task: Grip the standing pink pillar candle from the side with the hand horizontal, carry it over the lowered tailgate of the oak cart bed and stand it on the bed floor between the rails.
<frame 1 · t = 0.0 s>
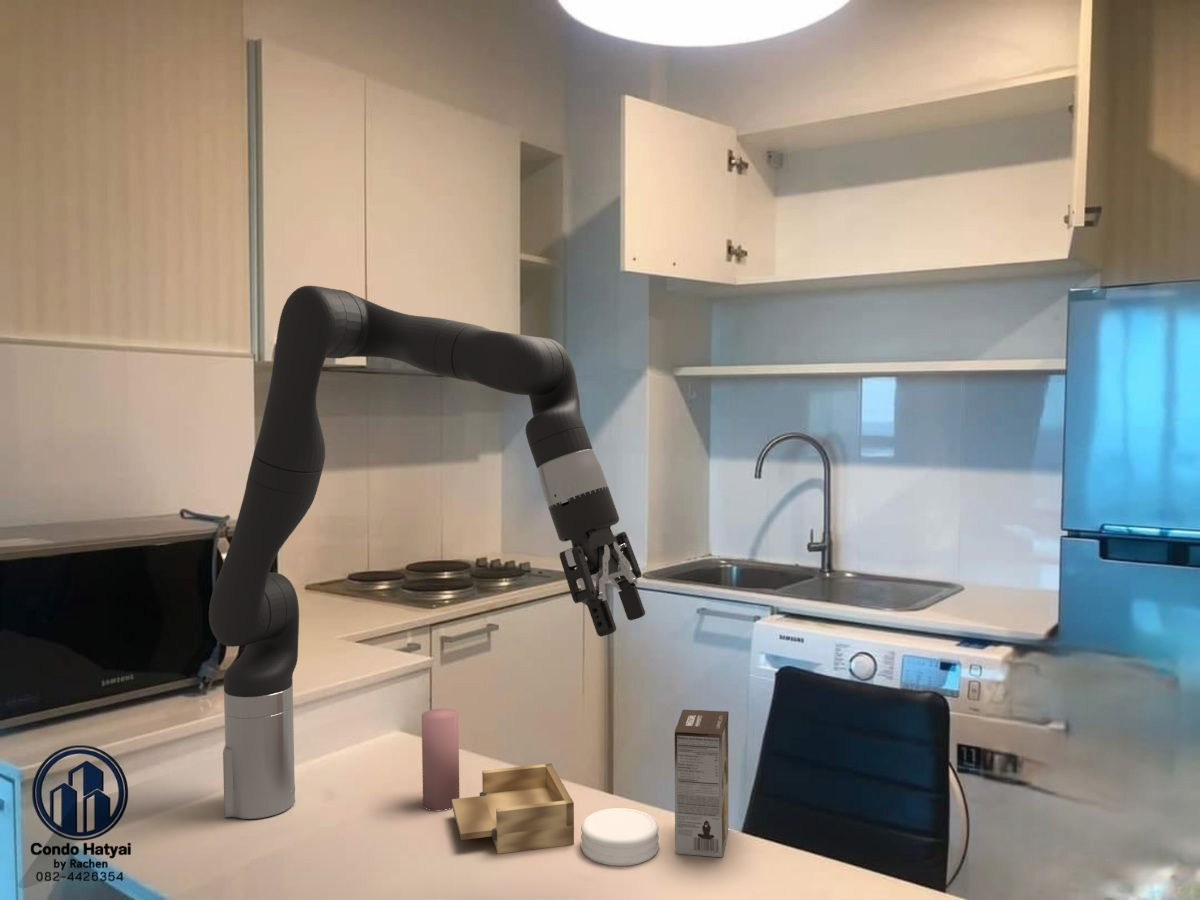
hand: (623, 626, 109), 31 cm above the countertop, tool tilted 20°, fingers open, 8 cm apart
pink pillar candle: (441, 803, 136), on the countertop
white round ridged container: (619, 850, 122), on the countertop
cart bed: (526, 825, 128), on the countertop
coffee box: (702, 842, 124), on the countertop
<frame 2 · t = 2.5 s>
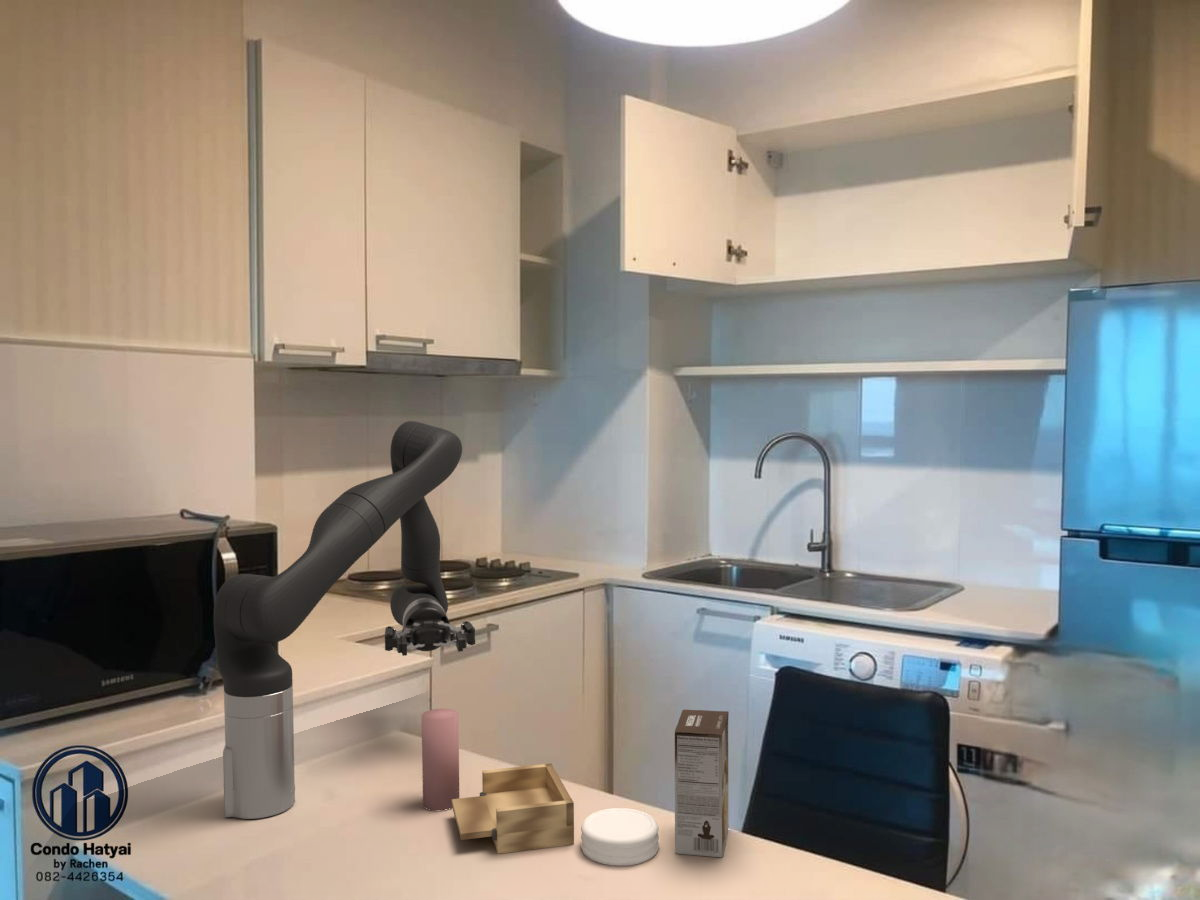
hand: (433, 647, 145), 20 cm above the countertop, tool horizontal, fingers open, 8 cm apart
nothing on the countertop moved.
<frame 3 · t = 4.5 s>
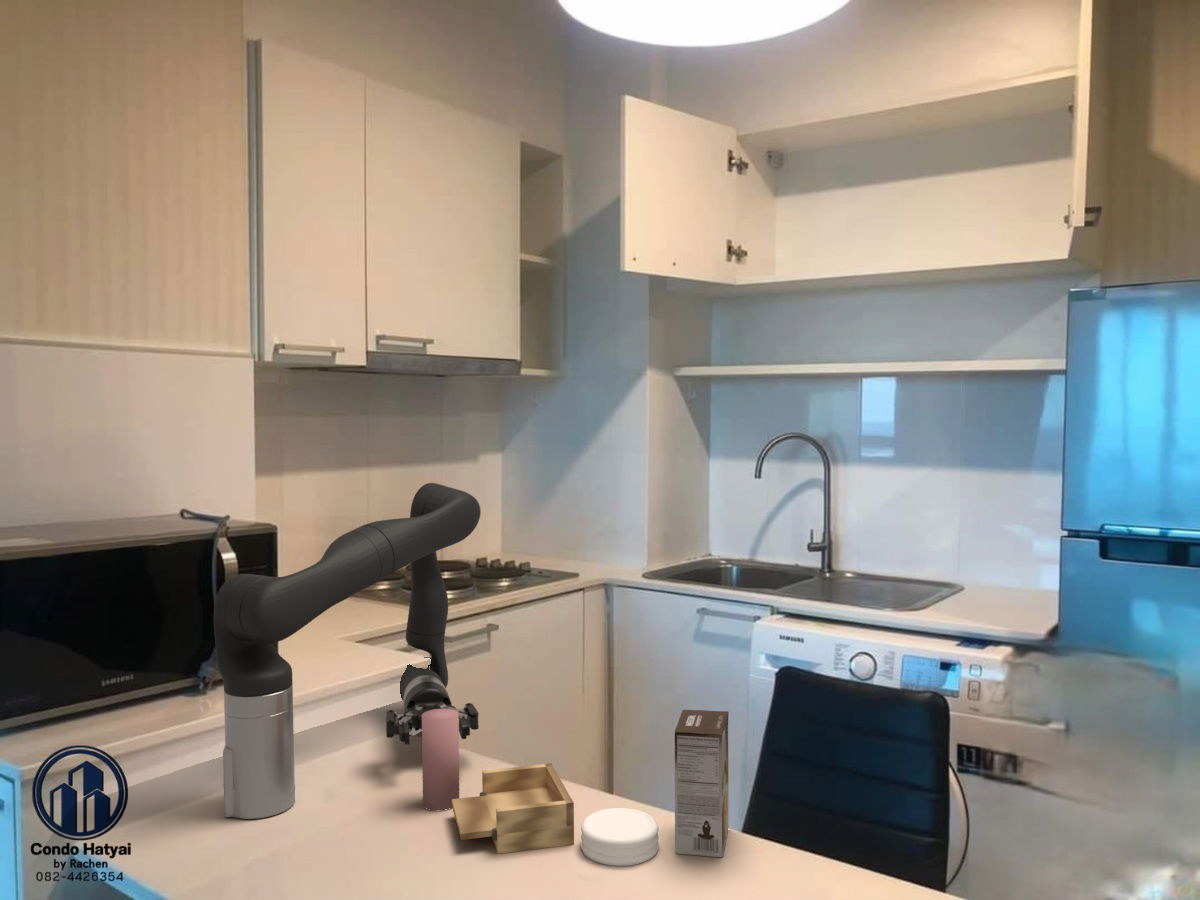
hand: (436, 735, 142), 8 cm above the countertop, tool horizontal, fingers open, 8 cm apart
nothing on the countertop moved.
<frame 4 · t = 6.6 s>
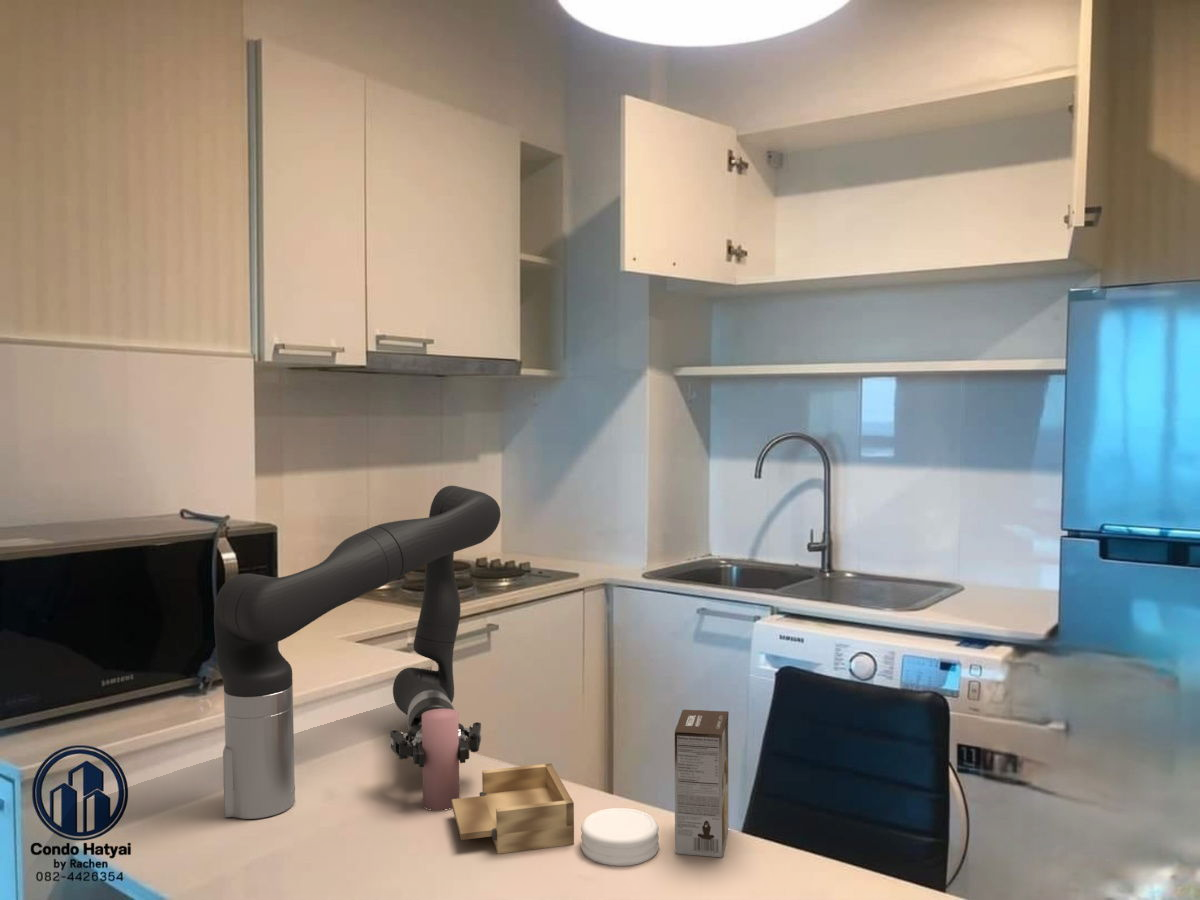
hand: (442, 758, 133), 8 cm above the countertop, tool horizontal, fingers closed on pink pillar candle, 5 cm apart
pink pillar candle: (441, 803, 136), on the countertop, touching gripper
everything else where it was.
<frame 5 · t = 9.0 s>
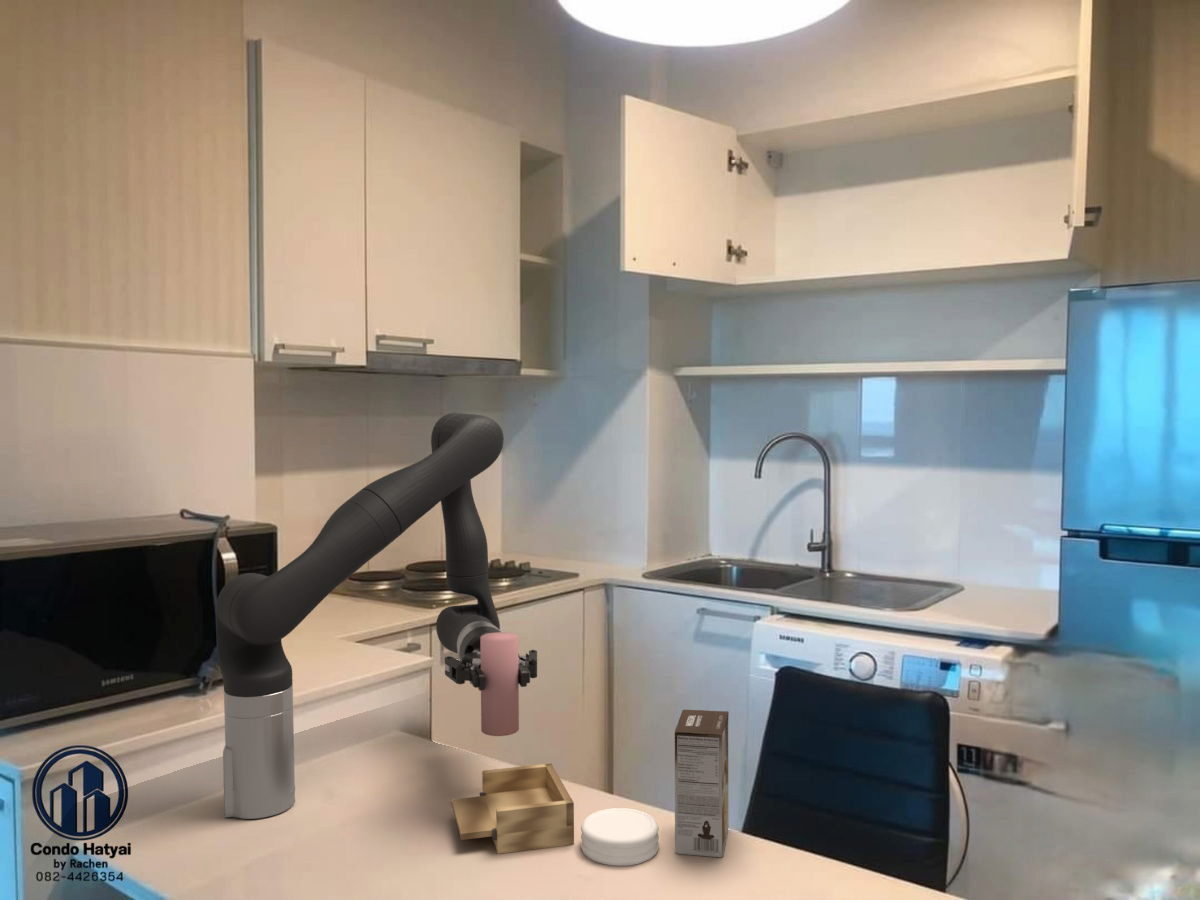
hand: (503, 681, 128), 20 cm above the countertop, tool horizontal, fingers closed on pink pillar candle, 5 cm apart
pink pillar candle: (500, 729, 131), point 12 cm above the countertop, touching gripper
everything else where it was.
when the fingers open (11 cm above the countertop, at t = 11.4 s): pink pillar candle drops 1 cm, resting on cart bed.
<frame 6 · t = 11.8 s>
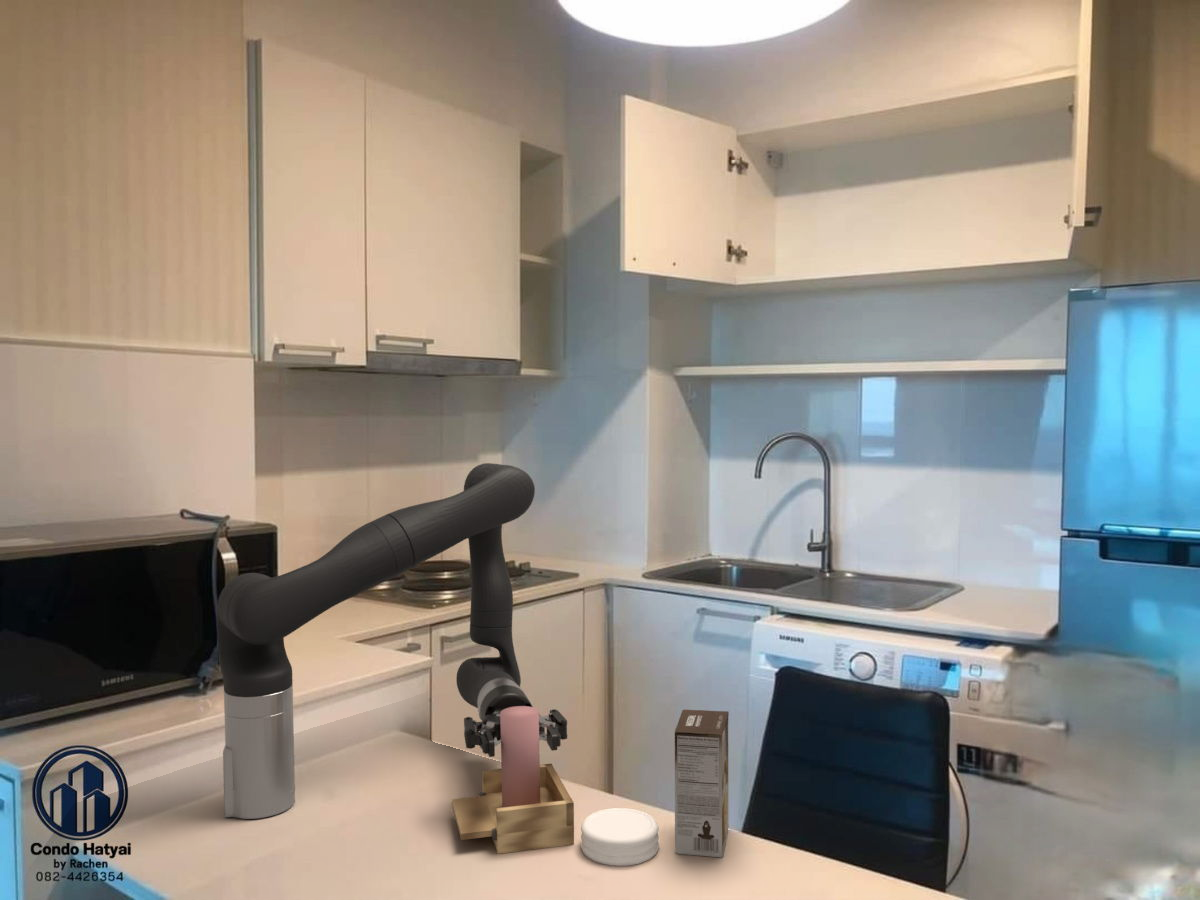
hand: (523, 746, 126), 12 cm above the countertop, tool horizontal, fingers open, 8 cm apart
pink pillar candle: (521, 806, 128), point 3 cm above the countertop, touching cart bed
everything else where it was.
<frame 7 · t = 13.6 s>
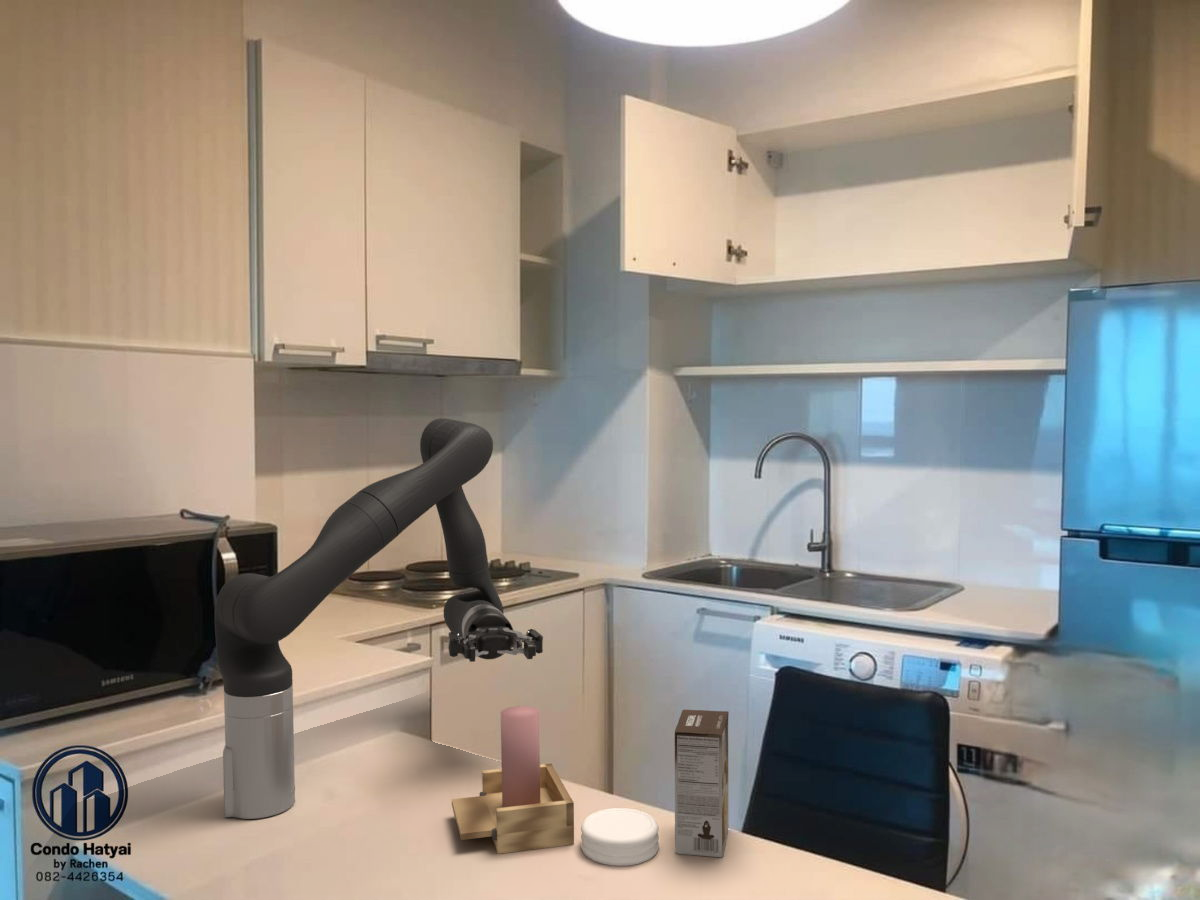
hand: (502, 653, 138), 21 cm above the countertop, tool horizontal, fingers open, 8 cm apart
nothing on the countertop moved.
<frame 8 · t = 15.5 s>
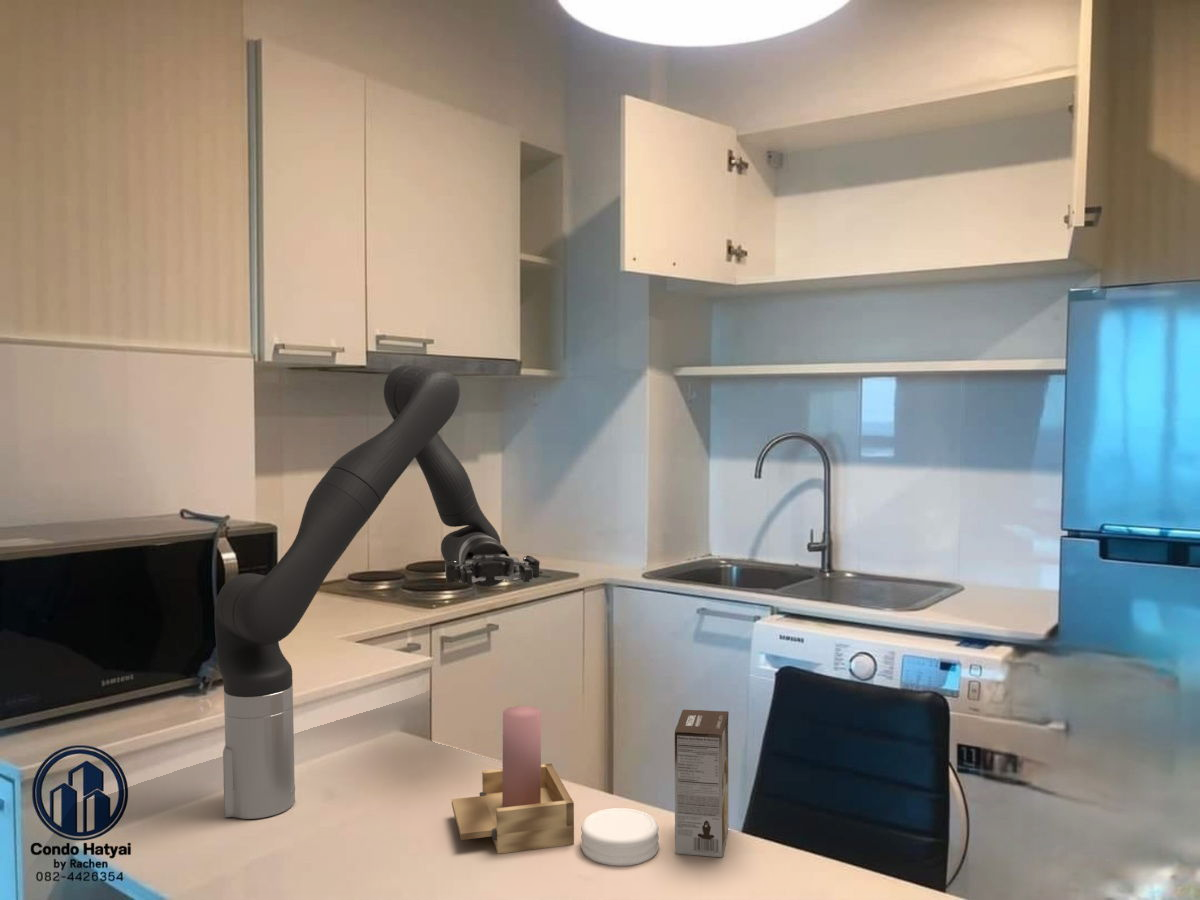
hand: (498, 577, 138), 32 cm above the countertop, tool horizontal, fingers open, 8 cm apart
nothing on the countertop moved.
at the end: pink pillar candle inside the target area on the cart bed (0.7 cm from its centre), point 2.5 cm above the cart bed's base; pink pillar candle tilted 1°; the gripper is holding nothing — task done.
